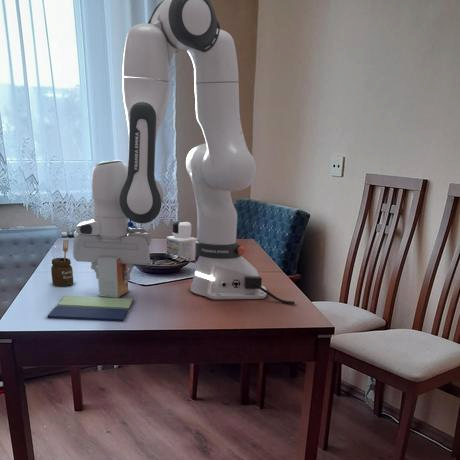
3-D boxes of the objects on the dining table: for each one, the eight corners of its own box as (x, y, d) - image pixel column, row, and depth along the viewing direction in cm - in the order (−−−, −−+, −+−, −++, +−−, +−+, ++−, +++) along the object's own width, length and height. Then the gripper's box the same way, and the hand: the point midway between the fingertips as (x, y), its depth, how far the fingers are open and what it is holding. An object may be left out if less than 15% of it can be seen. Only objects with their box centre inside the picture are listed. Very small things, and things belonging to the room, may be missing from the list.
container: (166, 258, 198) (166, 220, 192) (182, 256, 203) (183, 219, 197) (180, 262, 193) (180, 224, 187) (196, 260, 198) (197, 222, 192)
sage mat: (132, 301, 149) (132, 298, 149) (128, 309, 142) (128, 307, 142) (65, 297, 149) (65, 295, 148) (57, 306, 141) (57, 304, 141)
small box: (118, 298, 150) (116, 259, 146) (98, 296, 151) (96, 257, 147) (128, 291, 157) (127, 253, 153) (110, 289, 158) (108, 251, 154)
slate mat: (127, 311, 141) (127, 309, 141) (122, 321, 134) (122, 319, 133) (56, 308, 140) (56, 306, 140) (47, 318, 133) (47, 315, 133)
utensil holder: (48, 285, 159) (43, 242, 153) (60, 280, 164) (57, 238, 159) (66, 287, 157) (62, 244, 152) (78, 282, 163) (75, 240, 157)
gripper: (151, 227, 149) (152, 278, 156) (75, 223, 148) (78, 274, 155) (149, 231, 144) (149, 283, 150) (69, 226, 143) (73, 280, 149)
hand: (113, 279), depth 152 cm, fingers closed on small box, 6 cm apart
